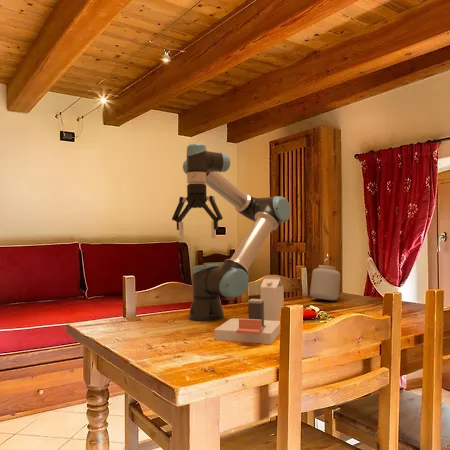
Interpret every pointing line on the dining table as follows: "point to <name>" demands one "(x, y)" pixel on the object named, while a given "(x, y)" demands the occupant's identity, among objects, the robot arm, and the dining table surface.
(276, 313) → the milk carton
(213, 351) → the dining table surface
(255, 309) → the plug
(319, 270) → the jar
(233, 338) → the socket plate
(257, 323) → the salmon red stepped block
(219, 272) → the robot arm
